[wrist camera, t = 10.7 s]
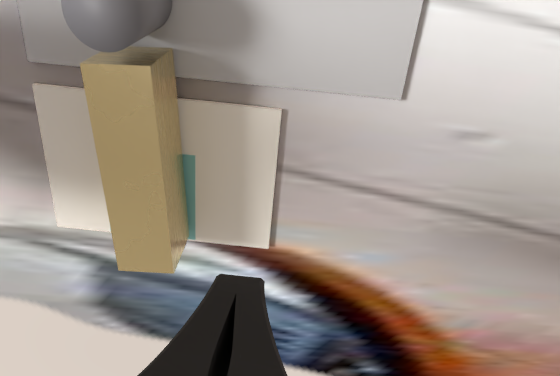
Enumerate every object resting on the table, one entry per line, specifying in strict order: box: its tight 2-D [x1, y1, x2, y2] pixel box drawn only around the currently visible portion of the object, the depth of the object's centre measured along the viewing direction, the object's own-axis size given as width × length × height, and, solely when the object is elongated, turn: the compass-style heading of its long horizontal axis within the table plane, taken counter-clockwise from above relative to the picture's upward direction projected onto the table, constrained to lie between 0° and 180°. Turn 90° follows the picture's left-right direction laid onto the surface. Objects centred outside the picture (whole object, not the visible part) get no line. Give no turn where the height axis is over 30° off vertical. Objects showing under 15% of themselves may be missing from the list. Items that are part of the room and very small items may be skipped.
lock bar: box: [80, 46, 189, 273], centre depth 19 cm, size 9×2×3 cm, turn 179°
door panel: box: [17, 0, 423, 249], centre depth 18 cm, size 16×14×4 cm
